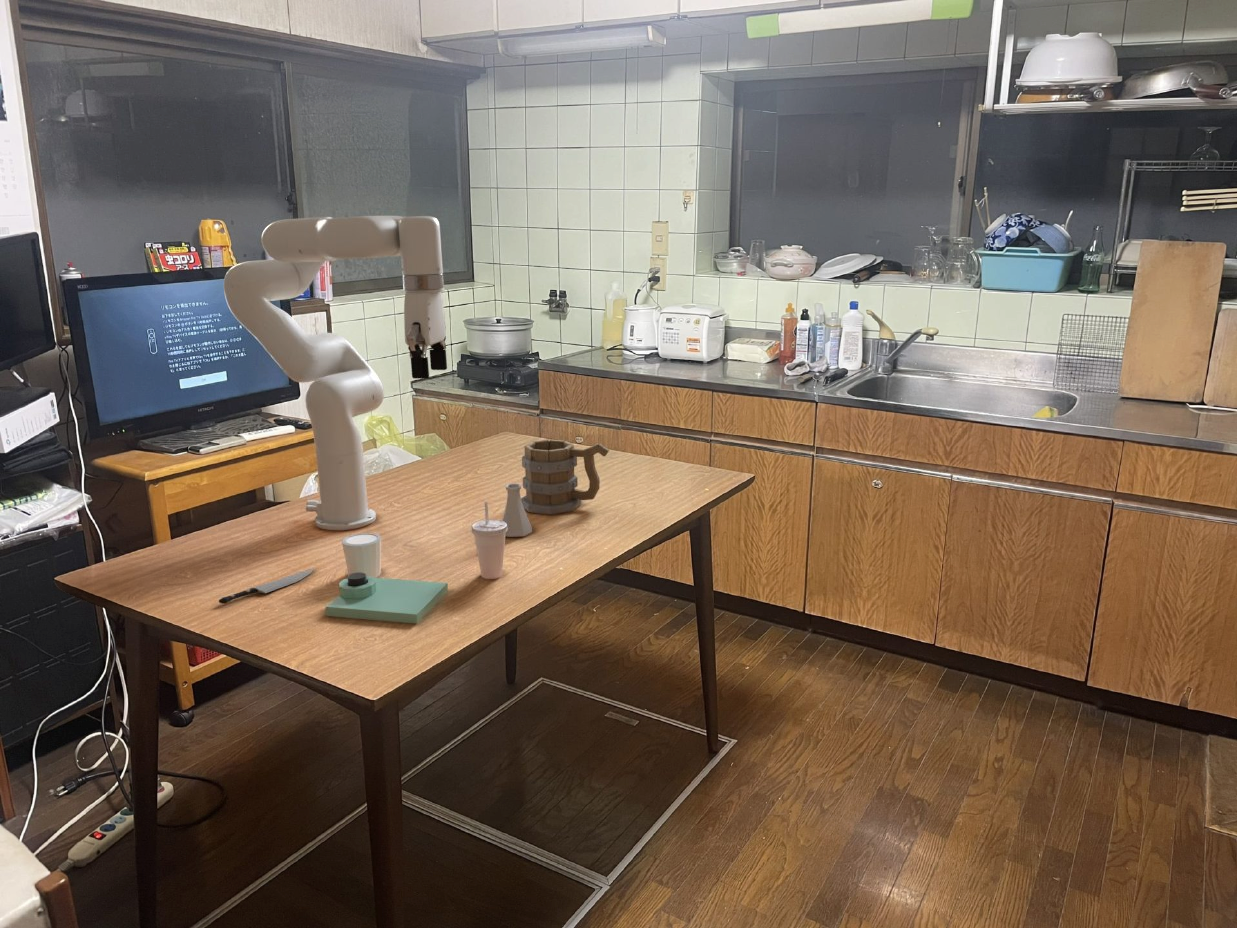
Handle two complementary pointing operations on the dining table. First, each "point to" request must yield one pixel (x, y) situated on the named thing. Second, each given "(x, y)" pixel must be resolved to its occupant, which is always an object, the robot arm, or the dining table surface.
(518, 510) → the flask
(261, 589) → the chef's knife
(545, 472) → the tankard
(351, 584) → the button
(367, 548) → the white tapered cup
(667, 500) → the dining table surface
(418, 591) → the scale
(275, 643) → the dining table surface
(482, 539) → the smoothie
